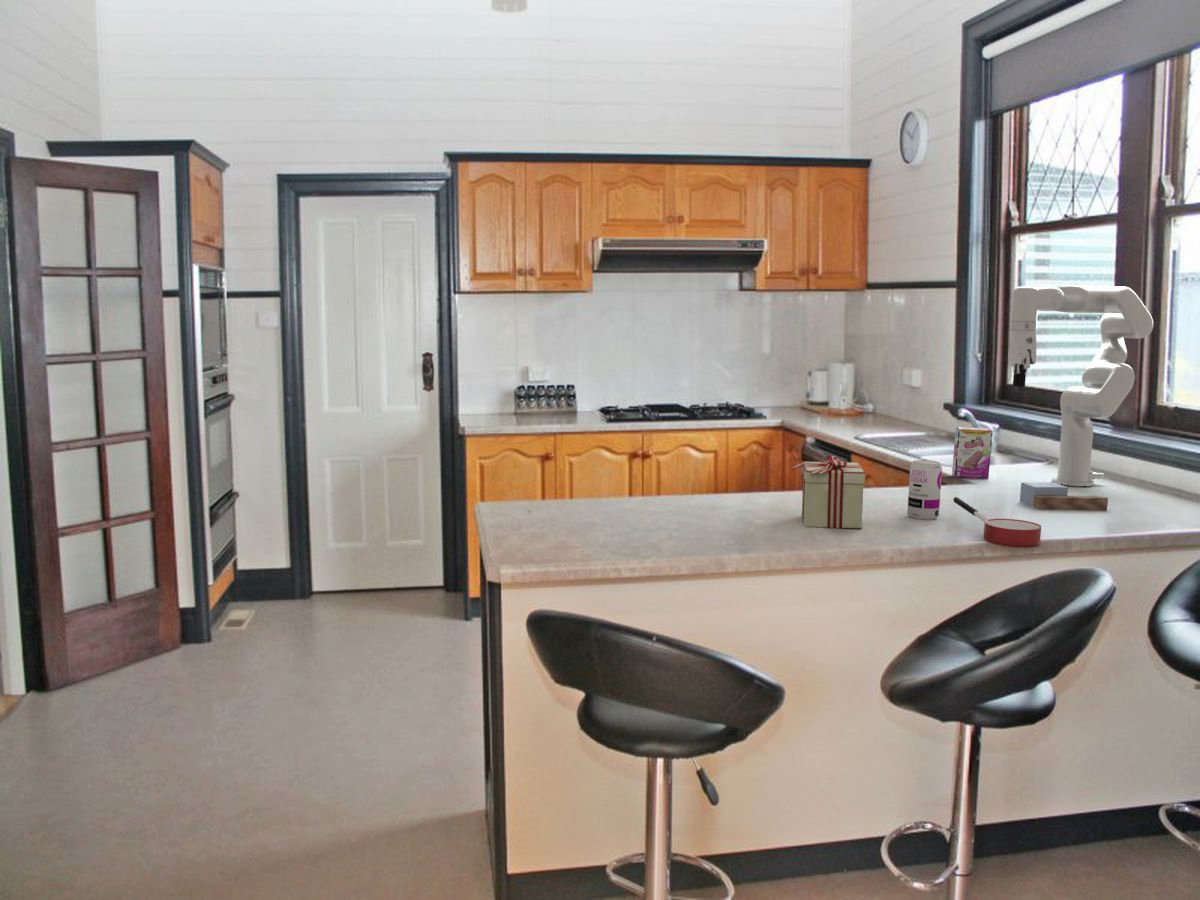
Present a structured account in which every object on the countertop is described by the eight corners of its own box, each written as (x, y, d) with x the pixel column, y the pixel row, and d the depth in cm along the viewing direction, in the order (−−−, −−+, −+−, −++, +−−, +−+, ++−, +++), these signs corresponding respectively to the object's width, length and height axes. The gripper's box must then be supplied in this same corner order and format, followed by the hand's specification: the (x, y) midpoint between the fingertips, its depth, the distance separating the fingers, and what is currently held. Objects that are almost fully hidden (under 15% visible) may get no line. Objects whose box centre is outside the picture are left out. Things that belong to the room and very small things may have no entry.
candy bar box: (954, 477, 362) (958, 428, 359) (951, 475, 366) (954, 426, 364) (989, 479, 360) (993, 430, 358) (985, 476, 365) (989, 428, 363)
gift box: (785, 515, 293) (788, 451, 290) (854, 517, 292) (858, 453, 290) (794, 529, 276) (798, 461, 274) (868, 531, 276) (872, 463, 273)
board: (1100, 507, 314) (1101, 495, 314) (1106, 510, 311) (1108, 498, 310) (1033, 507, 313) (1033, 495, 313) (1038, 509, 310) (1039, 497, 309)
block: (1051, 502, 322) (1053, 482, 321) (1066, 507, 314) (1068, 487, 314) (1019, 502, 321) (1021, 482, 320) (1033, 507, 313) (1035, 487, 312)
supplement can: (939, 515, 297) (942, 461, 295) (937, 521, 290) (941, 465, 288) (908, 513, 300) (911, 459, 298) (906, 518, 292) (909, 463, 290)
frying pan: (925, 521, 289) (927, 498, 289) (966, 519, 294) (968, 496, 293) (1007, 549, 260) (1009, 522, 259) (1051, 546, 264) (1054, 520, 263)
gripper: (1046, 328, 330) (1041, 388, 332) (1024, 326, 344) (1020, 384, 347) (1022, 327, 329) (1017, 388, 332) (1001, 326, 344) (996, 384, 347)
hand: (1018, 386), depth 339 cm, fingers closed
